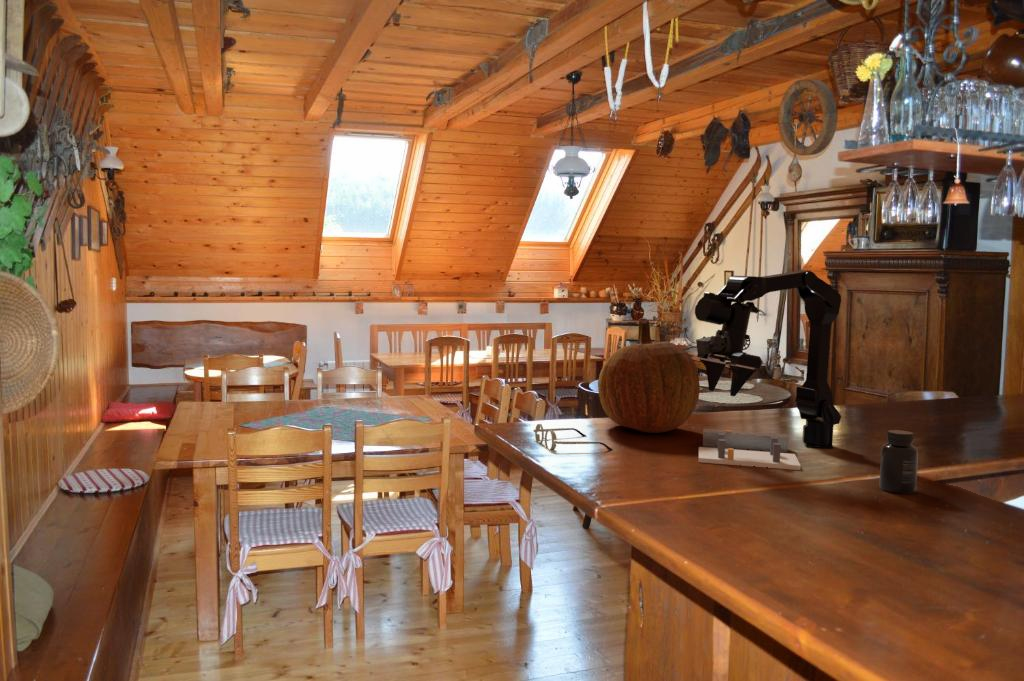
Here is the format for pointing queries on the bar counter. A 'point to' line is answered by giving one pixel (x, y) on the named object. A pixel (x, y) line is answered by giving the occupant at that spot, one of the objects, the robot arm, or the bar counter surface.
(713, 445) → the grey square bar
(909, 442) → the supplement bottle
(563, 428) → the eyeglasses
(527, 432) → the bar counter surface
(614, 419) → the pumpkin
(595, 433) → the bar counter surface
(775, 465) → the collar stand
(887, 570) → the bar counter surface
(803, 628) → the bar counter surface
